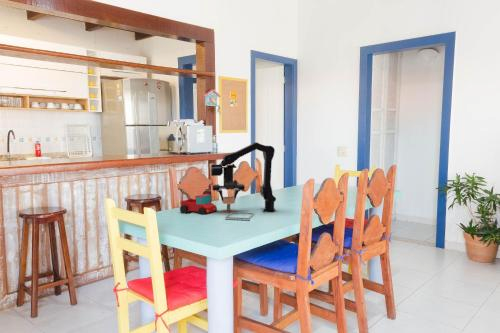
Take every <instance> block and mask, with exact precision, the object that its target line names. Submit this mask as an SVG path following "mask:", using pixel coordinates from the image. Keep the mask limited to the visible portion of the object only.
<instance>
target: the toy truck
mask: <svg viewBox="0 0 500 333" xmlns="http://www.w3.org/2000/svg"><path fill="white" fill-rule="evenodd" d="M179 210H180V213H181V214H184V213H185V214H187V213H188V211H190V212H197V214H198V215H202V216H205V215H207V214H209V213H212V212H214V213H217V211H218V207H217V205H215V204H214V203H212V194H210V193H209V194H208V193H203V194H199V195H196V196H195V199H194V198H193V199H192V198H190V199H185V200H181V201H180V207H179Z"/></svg>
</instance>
